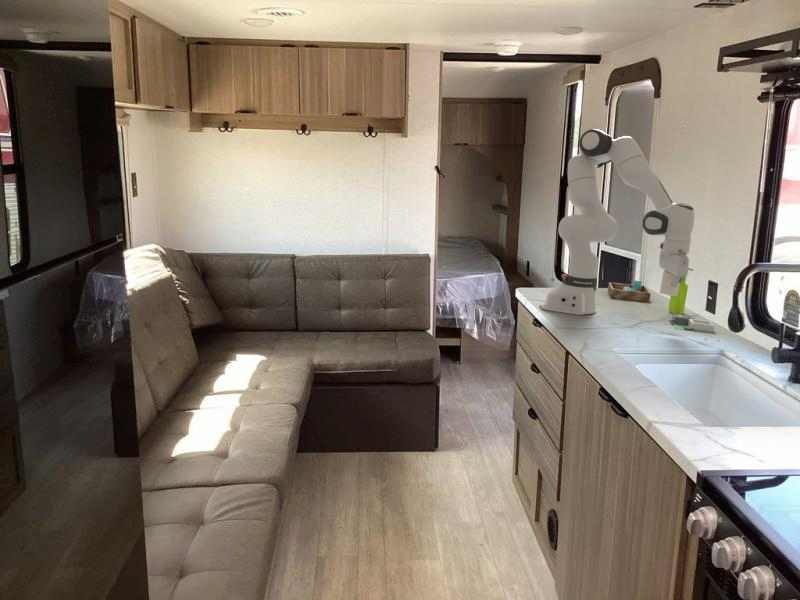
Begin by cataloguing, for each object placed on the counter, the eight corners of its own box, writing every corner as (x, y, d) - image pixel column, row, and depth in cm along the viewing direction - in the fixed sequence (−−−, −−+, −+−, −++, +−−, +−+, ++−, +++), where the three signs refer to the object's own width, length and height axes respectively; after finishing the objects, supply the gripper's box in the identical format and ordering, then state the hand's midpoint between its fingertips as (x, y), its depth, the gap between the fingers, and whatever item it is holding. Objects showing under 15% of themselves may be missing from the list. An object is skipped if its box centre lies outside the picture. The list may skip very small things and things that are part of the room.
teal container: (648, 300, 292) (651, 283, 290) (622, 298, 292) (624, 281, 291) (639, 294, 304) (642, 278, 302) (614, 292, 304) (616, 276, 302)
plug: (659, 293, 242) (663, 272, 240) (665, 292, 244) (668, 271, 242) (674, 296, 237) (678, 275, 235) (679, 295, 240) (683, 274, 238)
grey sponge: (671, 324, 245) (672, 318, 244) (667, 319, 253) (668, 313, 252) (690, 326, 243) (691, 320, 243) (686, 321, 251) (687, 315, 251)
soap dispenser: (687, 317, 263) (695, 269, 258) (669, 316, 264) (677, 268, 259) (683, 314, 268) (691, 267, 264) (666, 312, 269) (673, 265, 265)
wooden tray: (610, 297, 292) (612, 289, 291) (607, 290, 307) (608, 282, 306) (649, 301, 288) (650, 293, 287) (644, 294, 304) (645, 285, 303)
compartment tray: (674, 332, 239) (676, 322, 238) (667, 322, 253) (669, 313, 252) (715, 336, 236) (716, 327, 235) (705, 326, 250) (707, 317, 249)
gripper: (695, 253, 227) (689, 291, 230) (675, 244, 247) (669, 279, 250) (677, 251, 227) (671, 289, 230) (658, 243, 247) (653, 278, 250)
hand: (670, 284), depth 240 cm, fingers closed on plug, 6 cm apart
